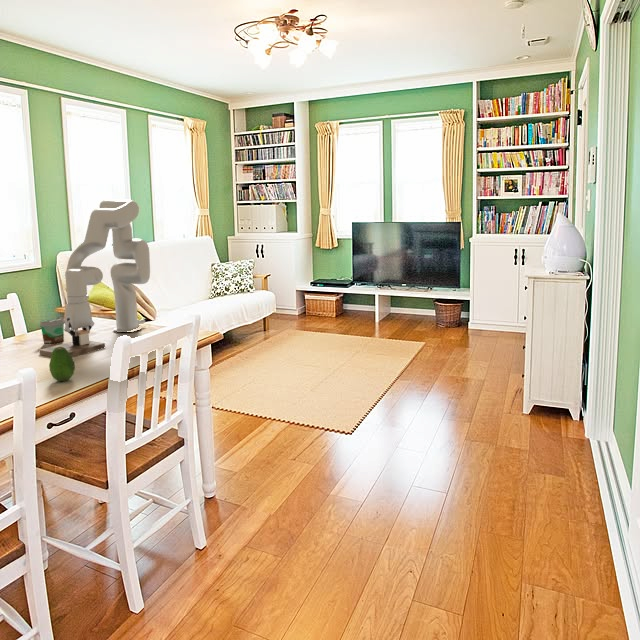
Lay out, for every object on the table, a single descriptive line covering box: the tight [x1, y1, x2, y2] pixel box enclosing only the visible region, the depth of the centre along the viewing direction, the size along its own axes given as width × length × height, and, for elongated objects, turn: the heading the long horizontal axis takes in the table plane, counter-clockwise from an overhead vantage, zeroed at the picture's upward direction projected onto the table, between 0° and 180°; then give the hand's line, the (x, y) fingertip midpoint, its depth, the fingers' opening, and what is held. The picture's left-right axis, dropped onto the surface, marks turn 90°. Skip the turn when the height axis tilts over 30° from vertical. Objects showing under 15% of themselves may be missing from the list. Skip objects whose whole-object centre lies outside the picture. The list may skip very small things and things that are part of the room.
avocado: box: [49, 347, 76, 382], centre depth 196 cm, size 8×8×12 cm
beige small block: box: [77, 328, 90, 345], centre depth 237 cm, size 4×5×5 cm
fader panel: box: [38, 340, 106, 358], centre depth 235 cm, size 20×14×2 cm
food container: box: [39, 316, 65, 345], centre depth 248 cm, size 12×6×10 cm, turn 168°
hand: (81, 343), depth 238 cm, fingers closed on beige small block, 4 cm apart
